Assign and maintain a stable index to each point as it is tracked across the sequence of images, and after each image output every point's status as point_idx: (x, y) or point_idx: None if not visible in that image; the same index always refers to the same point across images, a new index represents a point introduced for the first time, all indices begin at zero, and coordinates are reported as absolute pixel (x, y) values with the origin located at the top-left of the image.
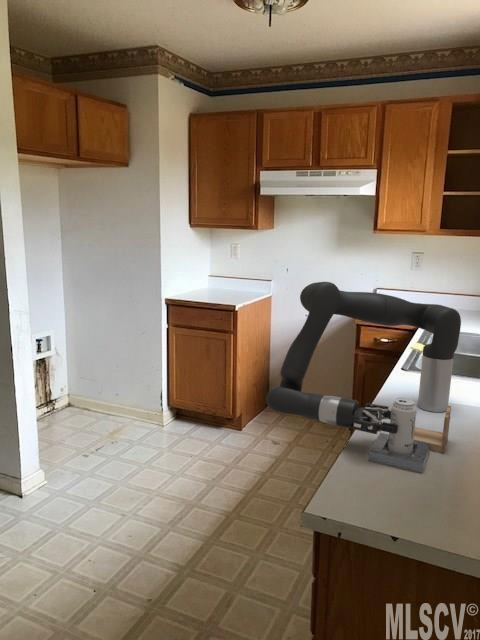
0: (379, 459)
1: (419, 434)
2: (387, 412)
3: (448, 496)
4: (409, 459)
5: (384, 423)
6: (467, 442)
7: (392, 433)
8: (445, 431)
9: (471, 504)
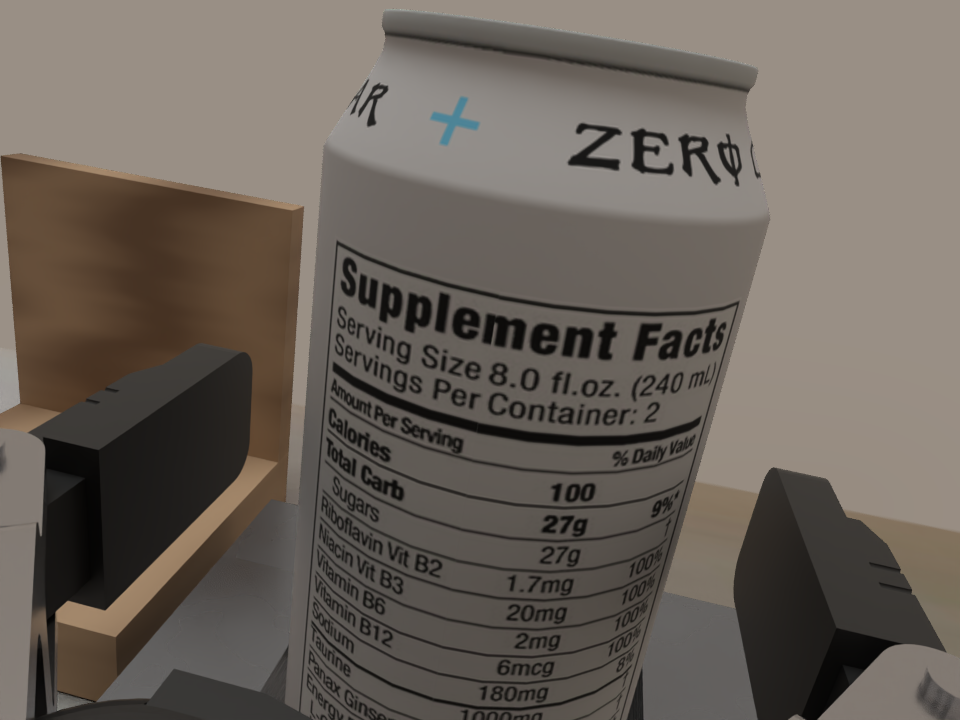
0: None
1: None
2: (52, 505)
3: (938, 601)
4: (734, 699)
5: (885, 616)
6: None
7: (611, 675)
8: (293, 335)
9: (920, 531)
